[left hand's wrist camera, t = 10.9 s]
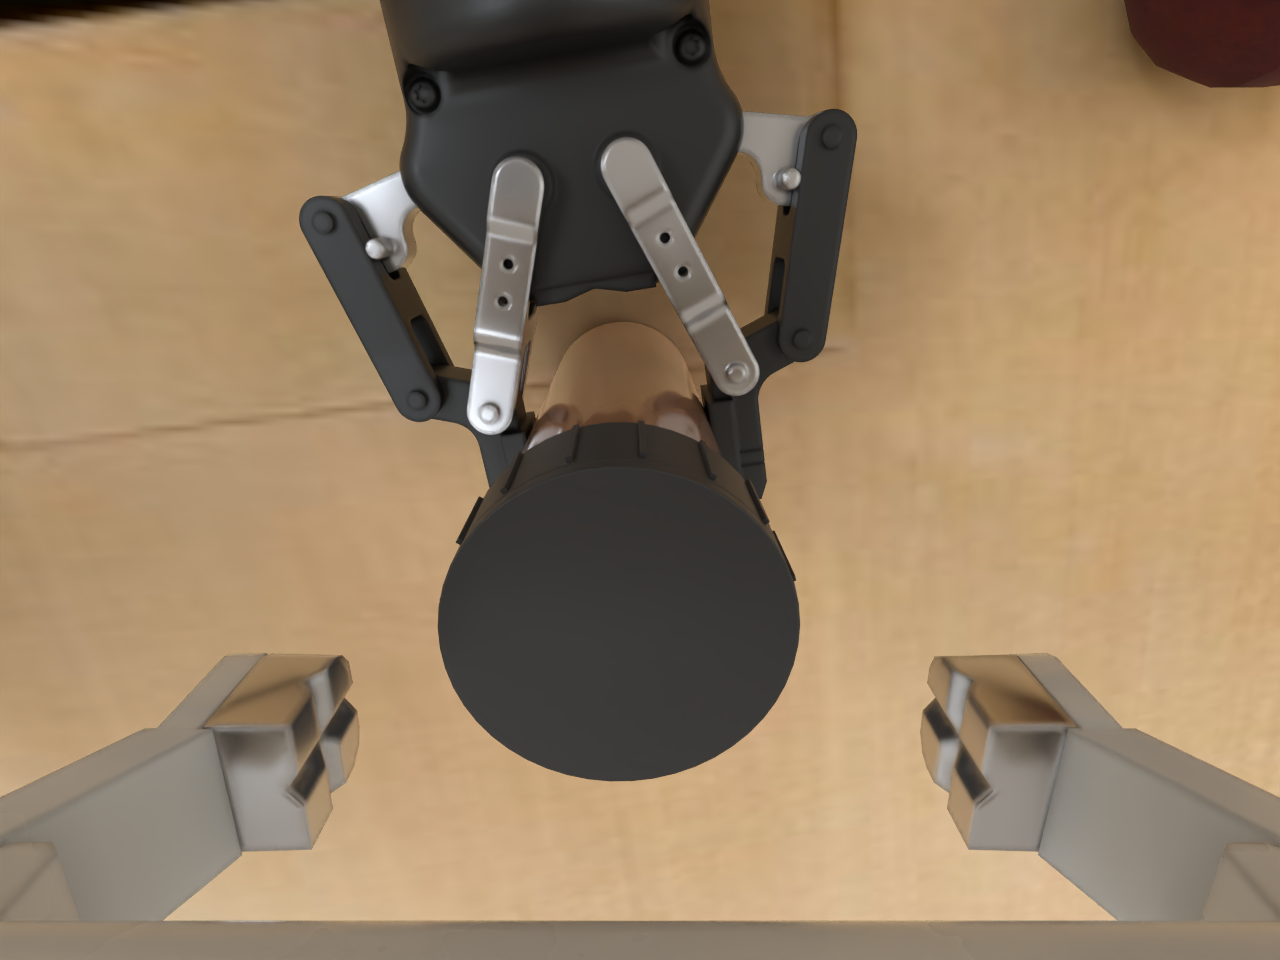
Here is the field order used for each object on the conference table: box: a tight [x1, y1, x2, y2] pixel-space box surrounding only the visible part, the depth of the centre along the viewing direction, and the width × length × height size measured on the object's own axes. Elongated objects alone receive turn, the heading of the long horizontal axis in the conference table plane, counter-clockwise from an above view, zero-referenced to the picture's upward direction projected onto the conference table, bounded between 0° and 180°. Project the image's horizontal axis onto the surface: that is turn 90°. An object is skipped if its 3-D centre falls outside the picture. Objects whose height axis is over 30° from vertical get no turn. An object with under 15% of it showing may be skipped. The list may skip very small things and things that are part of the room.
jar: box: [522, 322, 722, 457], centre depth 20 cm, size 5×5×16 cm
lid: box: [438, 420, 800, 781], centre depth 13 cm, size 6×6×2 cm
